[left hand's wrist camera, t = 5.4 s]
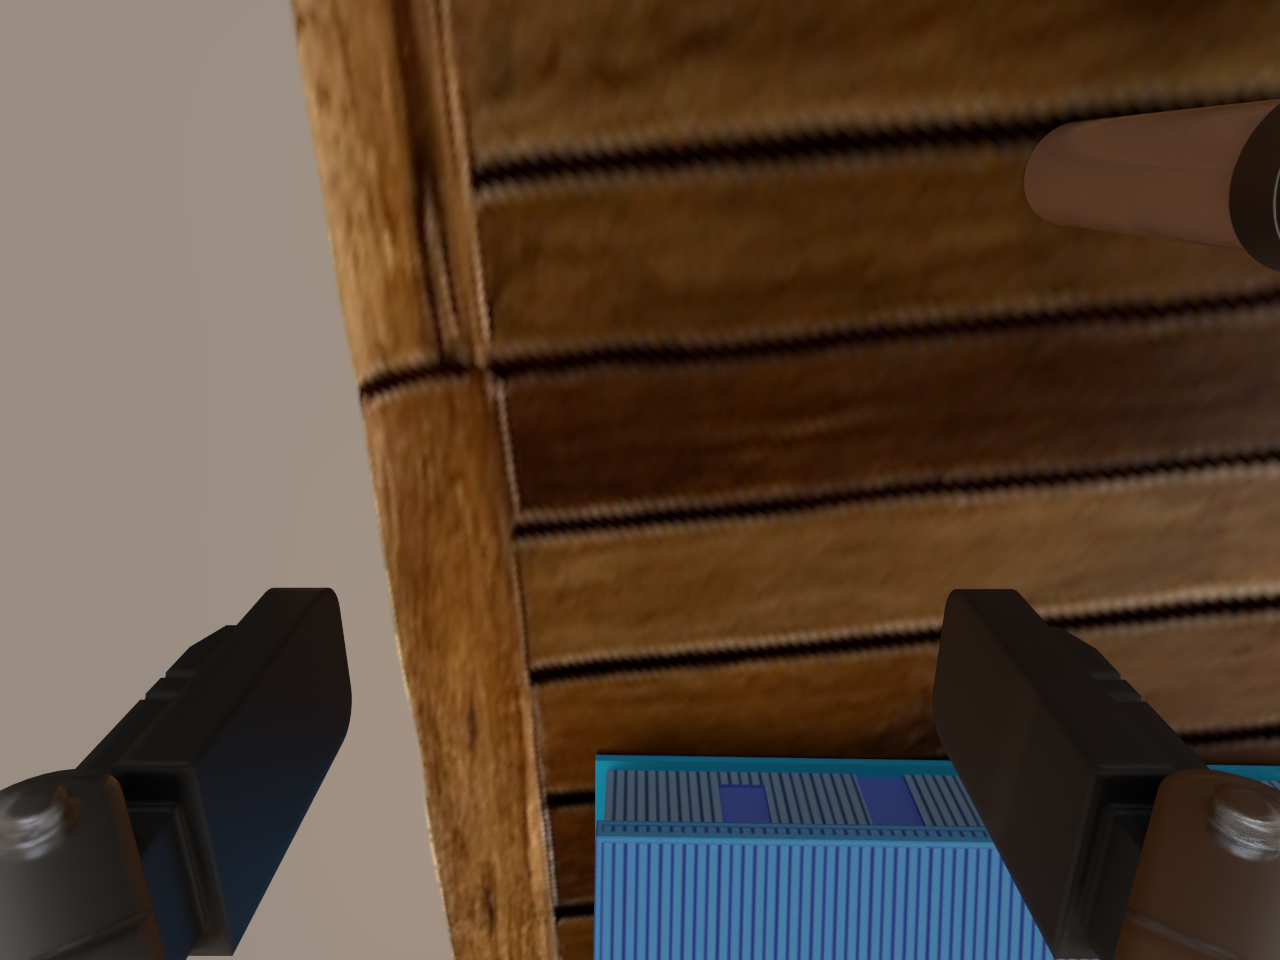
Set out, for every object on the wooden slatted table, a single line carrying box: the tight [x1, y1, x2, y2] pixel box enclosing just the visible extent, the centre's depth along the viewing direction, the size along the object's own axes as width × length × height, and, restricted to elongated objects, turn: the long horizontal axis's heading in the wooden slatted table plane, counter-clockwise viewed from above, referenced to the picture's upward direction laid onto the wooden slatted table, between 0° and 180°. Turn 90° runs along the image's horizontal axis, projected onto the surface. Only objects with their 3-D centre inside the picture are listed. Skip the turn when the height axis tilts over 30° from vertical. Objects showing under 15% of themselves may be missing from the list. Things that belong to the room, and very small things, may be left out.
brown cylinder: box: [1024, 99, 1280, 251], centre depth 29 cm, size 4×4×16 cm
